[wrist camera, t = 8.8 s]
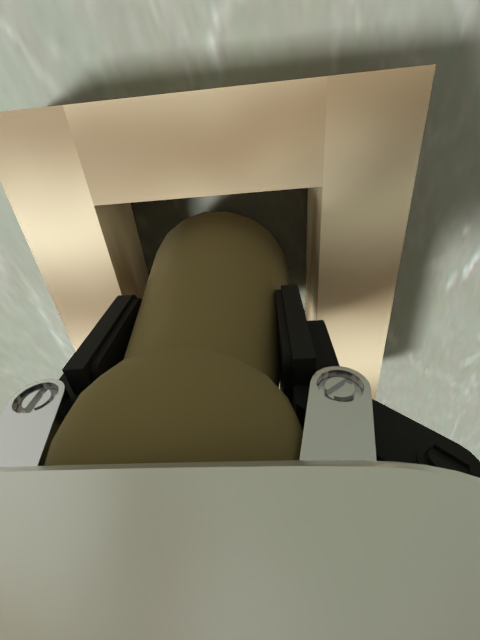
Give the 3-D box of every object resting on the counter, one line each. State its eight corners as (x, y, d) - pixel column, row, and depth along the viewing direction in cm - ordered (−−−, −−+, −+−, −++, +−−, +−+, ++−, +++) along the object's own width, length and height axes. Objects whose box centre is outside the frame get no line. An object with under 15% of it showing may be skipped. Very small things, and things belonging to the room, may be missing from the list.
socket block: (354, 366, 20) (372, 412, 17) (127, 376, 21) (106, 420, 18) (391, 76, 12) (436, 64, 9) (34, 114, 13) (-29, 115, 10)
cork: (309, 304, 15) (400, 605, 6) (200, 351, 17) (135, 643, 8) (248, 182, 12) (238, 379, 3) (125, 253, 14) (-119, 519, 5)
